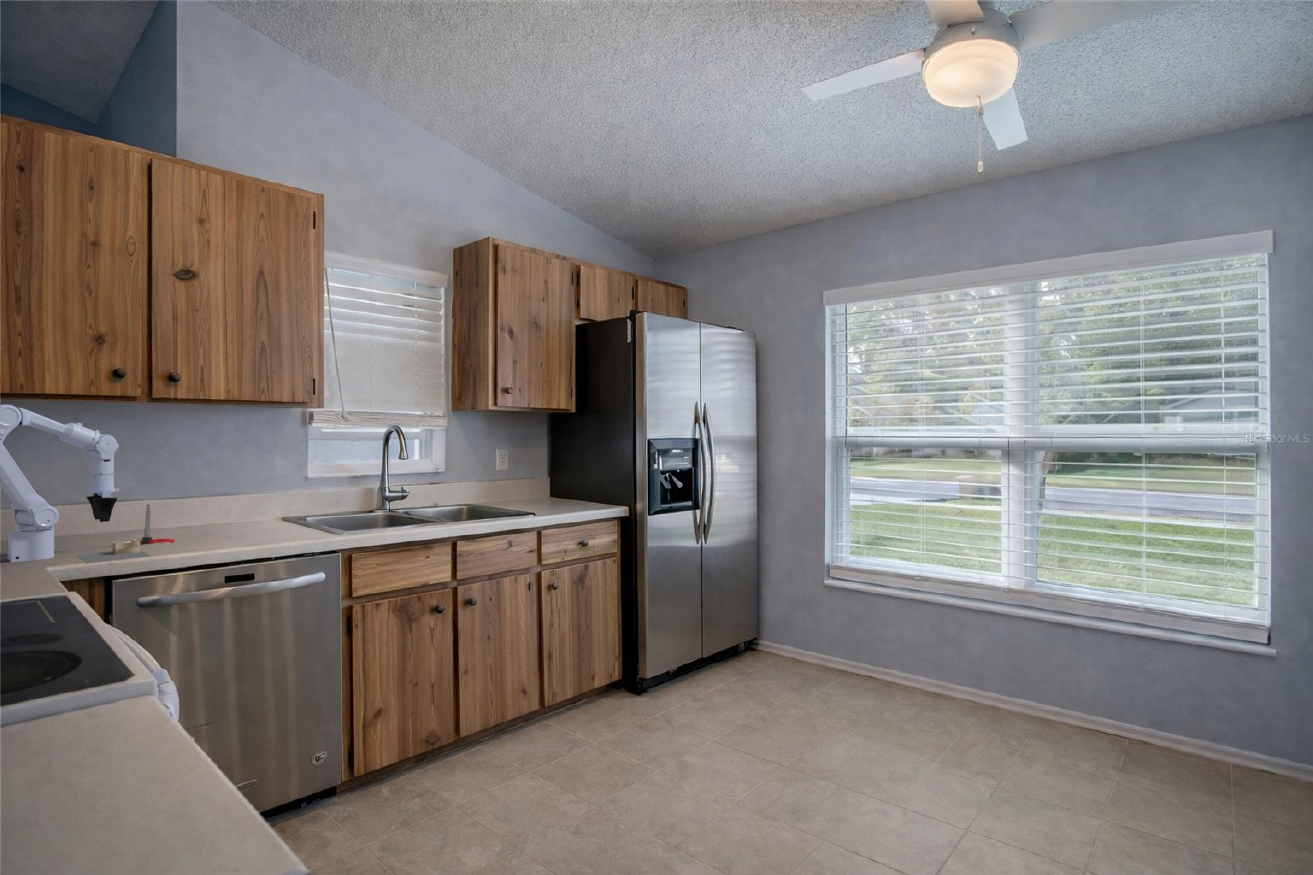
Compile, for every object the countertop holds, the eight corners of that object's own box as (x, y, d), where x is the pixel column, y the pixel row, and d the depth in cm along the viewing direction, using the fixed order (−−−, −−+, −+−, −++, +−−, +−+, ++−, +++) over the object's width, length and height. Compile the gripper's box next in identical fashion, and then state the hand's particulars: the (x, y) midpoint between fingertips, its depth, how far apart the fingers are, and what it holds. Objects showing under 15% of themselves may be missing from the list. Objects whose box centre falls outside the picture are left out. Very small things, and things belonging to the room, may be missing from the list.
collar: (116, 554, 194) (115, 544, 194) (112, 552, 198) (112, 541, 198) (140, 552, 198) (140, 541, 198) (136, 549, 202) (136, 539, 202)
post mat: (87, 566, 182) (87, 551, 182) (76, 558, 193) (76, 544, 193) (151, 559, 193) (151, 545, 193) (137, 552, 204) (137, 538, 204)
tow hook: (158, 541, 225) (132, 545, 216) (159, 502, 225) (134, 504, 216) (181, 542, 224) (156, 546, 214) (182, 503, 224) (157, 504, 215)
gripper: (123, 475, 202) (124, 521, 202) (113, 472, 211) (113, 516, 211) (93, 476, 196) (93, 523, 196) (83, 473, 206) (84, 519, 206)
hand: (102, 520), depth 204 cm, fingers open, 7 cm apart
